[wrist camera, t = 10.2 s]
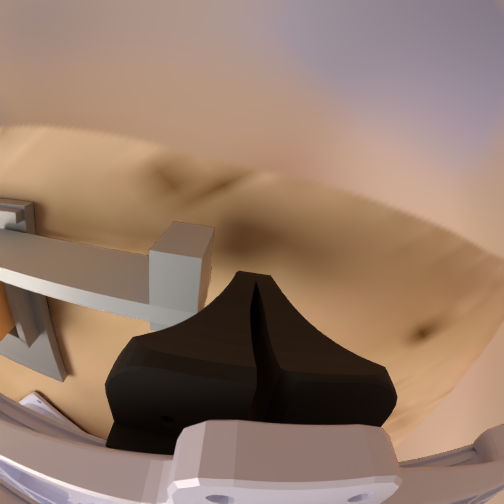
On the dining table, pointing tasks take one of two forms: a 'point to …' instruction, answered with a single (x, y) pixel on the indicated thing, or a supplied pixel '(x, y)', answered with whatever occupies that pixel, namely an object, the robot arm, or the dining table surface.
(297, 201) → the dining table surface
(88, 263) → the cover bar
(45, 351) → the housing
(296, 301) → the dining table surface
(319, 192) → the dining table surface
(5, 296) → the block
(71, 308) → the dining table surface
